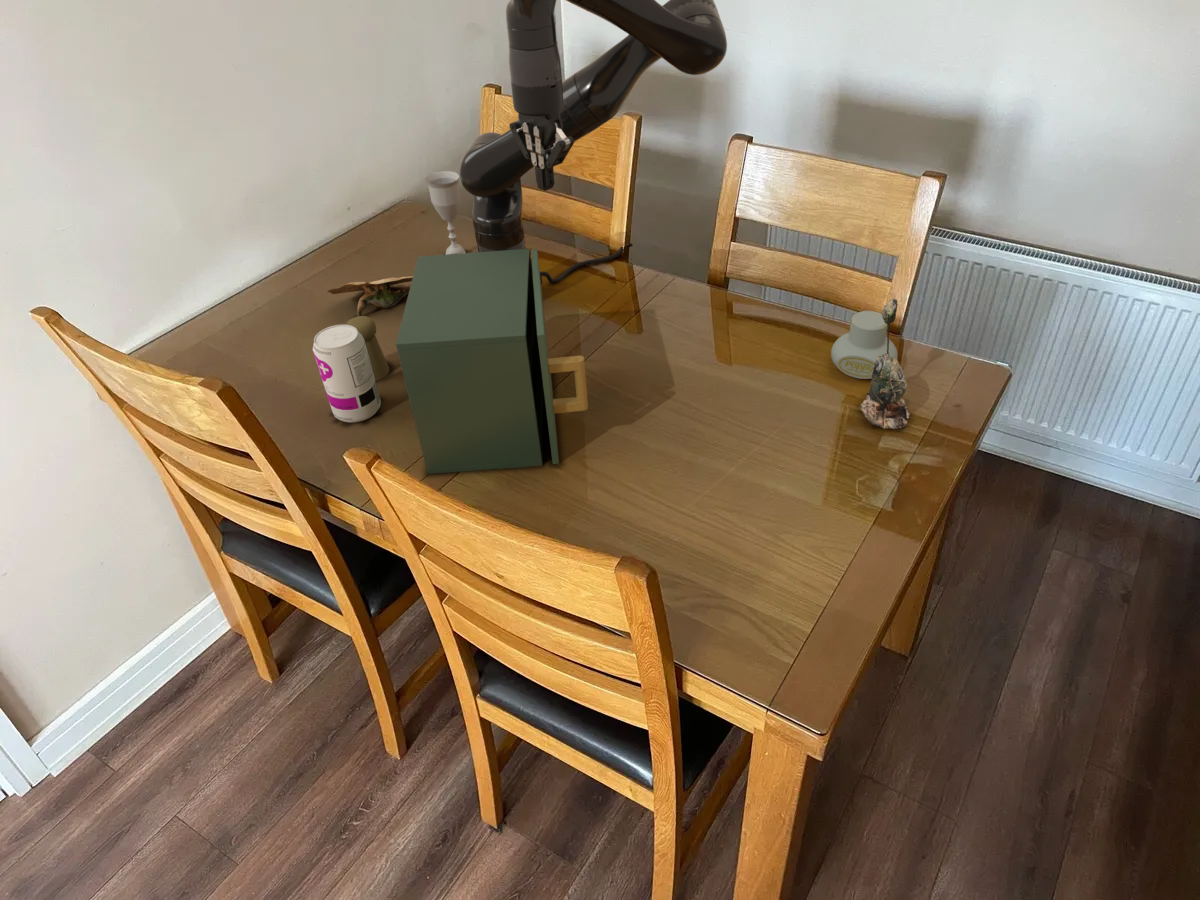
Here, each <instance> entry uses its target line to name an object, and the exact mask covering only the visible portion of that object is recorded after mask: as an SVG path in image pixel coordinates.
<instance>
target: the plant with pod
mask: <svg viewBox="0 0 1200 900" xmlns="http://www.w3.org/2000/svg"><path fill="white" fill-rule="evenodd" d="M897 311H898V300H897V299H896V298H890V299H889V300H888V302H887V303H886V304H885V305H884V306H883V308H882V310H881V314H882V317H883V320H884V322H885V323H886V324H887V332H886V337H887V354H886V353H885V354H884V355H880V356H878V358H877V360H876V363H875V365H874V369H873V373H872V378H871V382H870V387H869V391H868V392H867V393H866V395H865V399H864V400H863V402H861V404H860V407H859V410H860V411H861V412H862V413H863V416H864V417H865V418H866V420H867V422H868V423H869V424H870V425H872V426H874V427H878V428H882V429H893V430H895V429H896V430H898V429H902V428H904V427H906V426H907V425H908V423H909V422H908V420H909V418H910V415H911V413H910V412H909V411H908V409H909V408H908V404H907V403H906V401H905V400H906V399H904V398H903V397H904V395H905V393H906V391H907V385H908V384H907V383H908V382H907V381H906V377H905V373H904V371H903V369H902V366H901V364H900V363H899V361H898V359H896V358H895V357H893V356H891V355H889V352H888V350H889V340H890V330H891V324H893V323H895V320H896V317H897Z"/></svg>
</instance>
